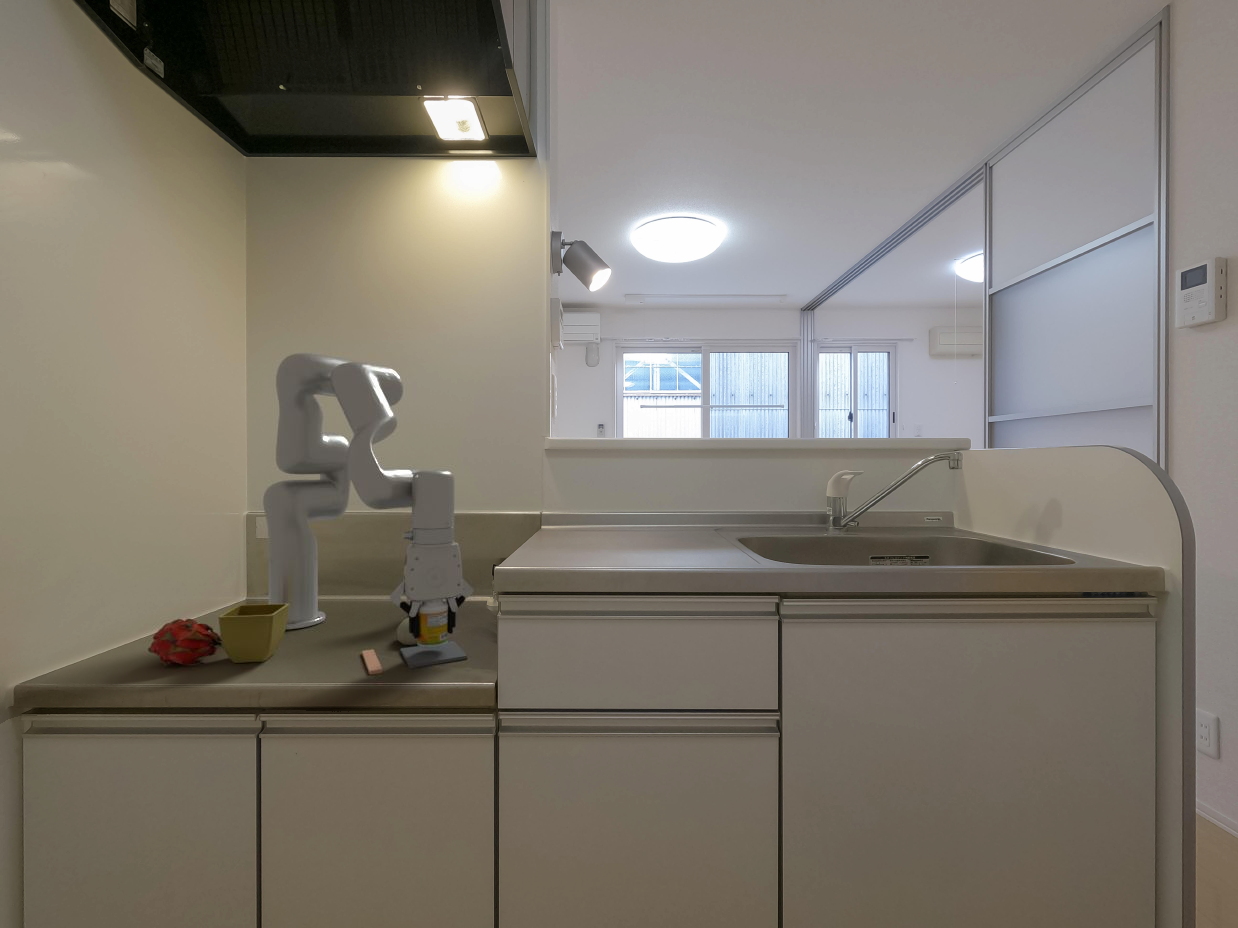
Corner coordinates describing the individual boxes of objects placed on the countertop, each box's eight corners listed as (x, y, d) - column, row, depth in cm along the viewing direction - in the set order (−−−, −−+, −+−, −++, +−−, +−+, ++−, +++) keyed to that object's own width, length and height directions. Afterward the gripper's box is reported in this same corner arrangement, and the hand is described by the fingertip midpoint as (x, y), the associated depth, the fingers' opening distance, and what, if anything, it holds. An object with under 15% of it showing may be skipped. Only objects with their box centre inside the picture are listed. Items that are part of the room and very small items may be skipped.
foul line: (361, 653, 109) (361, 650, 109) (373, 652, 110) (373, 649, 110) (369, 674, 99) (369, 671, 99) (382, 672, 100) (382, 669, 100)
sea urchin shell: (434, 639, 112) (407, 608, 113) (408, 666, 113) (381, 635, 114) (457, 626, 121) (431, 597, 122) (432, 651, 122) (407, 622, 123)
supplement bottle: (415, 641, 110) (416, 590, 110) (445, 638, 112) (445, 587, 112) (418, 650, 105) (418, 596, 105) (449, 646, 107) (449, 593, 107)
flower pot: (290, 649, 112) (290, 602, 112) (272, 665, 103) (272, 614, 103) (239, 652, 110) (239, 604, 110) (217, 668, 102) (217, 616, 101)
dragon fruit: (154, 668, 106) (216, 680, 105) (123, 653, 99) (189, 666, 98) (182, 623, 111) (242, 634, 110) (154, 606, 104) (218, 617, 103)
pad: (400, 651, 111) (400, 648, 111) (453, 643, 116) (453, 640, 116) (409, 668, 102) (409, 664, 102) (467, 658, 107) (467, 655, 107)
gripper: (386, 542, 101) (386, 646, 101) (484, 536, 110) (483, 633, 110) (380, 537, 108) (380, 635, 108) (473, 531, 116) (472, 623, 116)
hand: (432, 633), depth 109 cm, fingers closed on supplement bottle, 5 cm apart
